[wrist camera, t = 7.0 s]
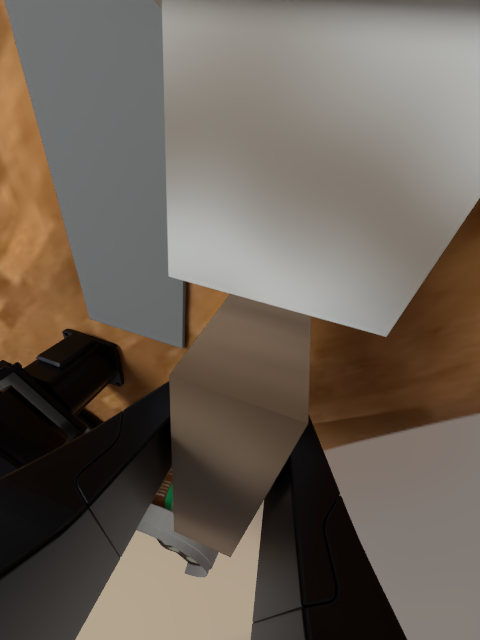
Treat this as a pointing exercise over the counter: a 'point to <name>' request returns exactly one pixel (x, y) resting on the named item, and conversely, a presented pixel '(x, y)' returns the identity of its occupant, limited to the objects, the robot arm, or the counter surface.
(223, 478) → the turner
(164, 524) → the food container
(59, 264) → the counter surface
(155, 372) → the counter surface
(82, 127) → the rest mat
